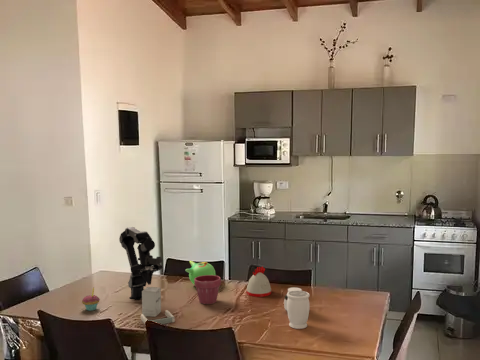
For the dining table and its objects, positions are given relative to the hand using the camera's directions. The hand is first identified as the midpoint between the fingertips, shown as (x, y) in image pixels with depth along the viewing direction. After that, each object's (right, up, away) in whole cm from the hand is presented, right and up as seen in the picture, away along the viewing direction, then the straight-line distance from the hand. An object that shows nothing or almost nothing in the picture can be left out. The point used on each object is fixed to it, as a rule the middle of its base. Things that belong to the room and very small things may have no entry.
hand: (149, 284), depth 239 cm
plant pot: (+29, -12, +10) cm, 33 cm away
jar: (+73, -13, -26) cm, 79 cm away
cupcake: (-30, -13, 0) cm, 33 cm away
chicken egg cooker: (+57, -10, +24) cm, 63 cm away
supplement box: (+3, -13, -8) cm, 16 cm away
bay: (+7, -13, -17) cm, 23 cm away
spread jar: (+74, -12, -6) cm, 75 cm away
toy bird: (+23, -10, +39) cm, 47 cm away
